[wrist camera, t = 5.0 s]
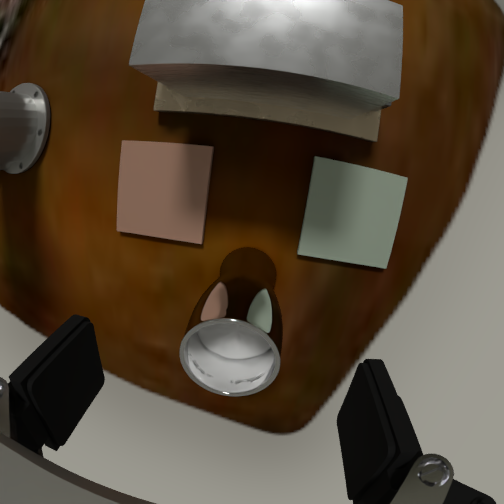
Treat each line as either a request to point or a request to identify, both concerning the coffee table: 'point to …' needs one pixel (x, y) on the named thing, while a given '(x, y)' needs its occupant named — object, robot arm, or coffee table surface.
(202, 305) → the chrome vase
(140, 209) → the terracotta pad
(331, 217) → the sage pad
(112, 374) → the coffee table surface
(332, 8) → the grey unit
